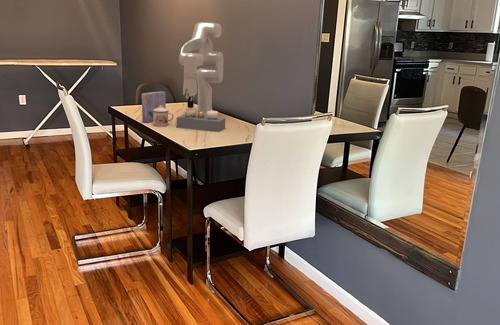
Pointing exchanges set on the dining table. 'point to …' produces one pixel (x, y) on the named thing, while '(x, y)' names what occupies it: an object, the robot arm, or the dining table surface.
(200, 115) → the brass ball
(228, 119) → the dining table surface
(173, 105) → the dining table surface
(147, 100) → the cake pan box
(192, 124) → the mount
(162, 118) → the teacup with lid
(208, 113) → the ivory knob
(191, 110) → the ivory knob
